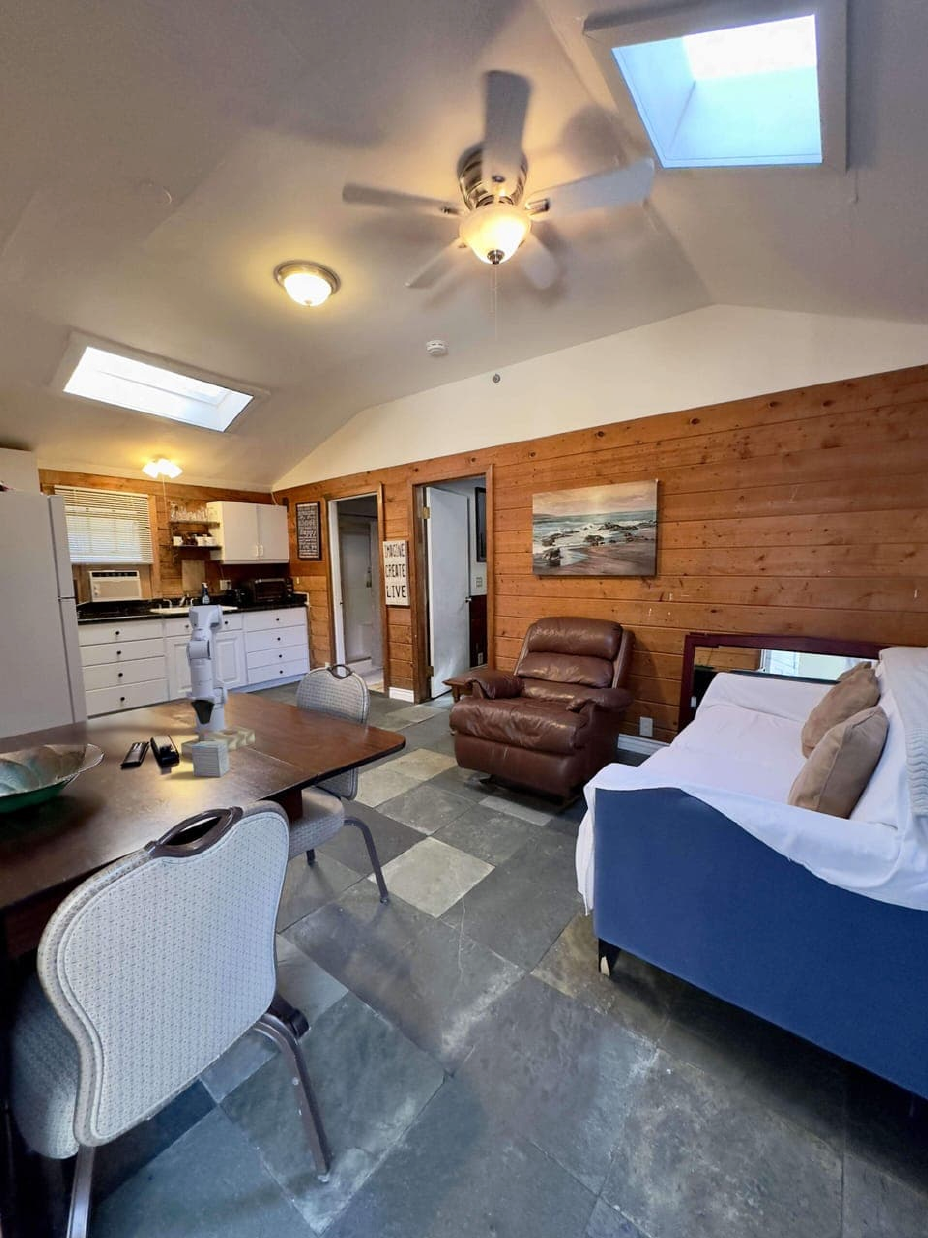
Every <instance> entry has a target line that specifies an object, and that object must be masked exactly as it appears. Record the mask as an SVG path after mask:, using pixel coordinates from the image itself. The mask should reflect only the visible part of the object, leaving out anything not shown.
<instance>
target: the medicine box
mask: <svg viewBox="0 0 928 1238" xmlns="http://www.w3.org/2000/svg"><path fill="white" fill-rule="evenodd" d="M192 757H193V760H192V765H193V766H192V768H193V777H217V778H221V777H223V776H224V775H225V774H226V773H227V772H229V771H230V760H229V752H228V748H227V742H222V741H201V742H199V743H197V744H195V745H194V746H192Z"/></svg>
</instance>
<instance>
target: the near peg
mask: <svg viewBox="0 0 928 1238" xmlns="http://www.w3.org/2000/svg"><path fill="white" fill-rule="evenodd" d="M197 735H198V737H197V738H199V742H201V741H214V732H213V731H212V730H209V729H207V730H204V731H200V732H198V733H197Z"/></svg>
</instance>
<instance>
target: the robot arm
mask: <svg viewBox="0 0 928 1238" xmlns="http://www.w3.org/2000/svg"><path fill="white" fill-rule="evenodd" d="M223 618H224V617H223V607H222V606H221V604H217V605H200V606H199V605H198V606H194V605H191V606H190V607H189V609H188V619H189V623H190V625H191V628H192V631H191V635H190V641H189V643H187V642H186V645H185V647H186V648H185V651H186V653H185V655H186V658H187V662H188V663H187V664H188V667H189V671H190V672H189V673H190V684H191V685H190V686H191V690H189V691H186V692H185V695H186V699H188V700H191V702H190V705H191V706H192V708H193V710H194V712H195V721H196V722H195V724H196V729H195V730H194V731H193V732H194V733H197V734H198V732H200V731H204V730H207V729H209V730H212V731H213V732H217V731H220V730H223V729H227V728H230V727H229V726H226V717H225V716H226V715H225V705H227V704H228V703H229V702H228V700H229V696H228V695H229V693H228V686H227V682H226V681H225V680H223V679H221V678H220V677H218V658H217V656H218V655H217V641H216V640H217V633H218V631H221V630H222V629H223V626H224V621H223ZM193 700H194V701H193Z"/></svg>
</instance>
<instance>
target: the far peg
mask: <svg viewBox="0 0 928 1238" xmlns="http://www.w3.org/2000/svg"><path fill="white" fill-rule="evenodd" d="M235 733H238V731H234V730H230V731H227V732H224V733H223V734H225V735H232V734H235Z"/></svg>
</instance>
